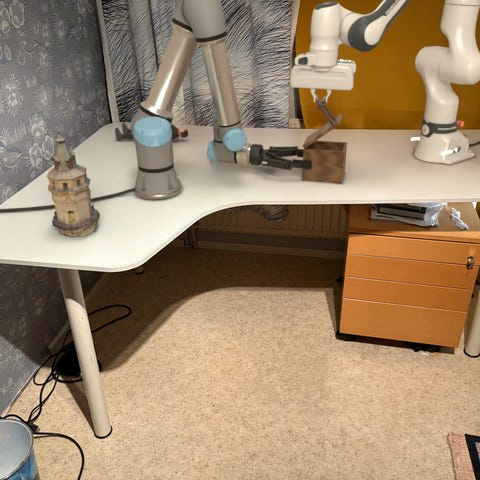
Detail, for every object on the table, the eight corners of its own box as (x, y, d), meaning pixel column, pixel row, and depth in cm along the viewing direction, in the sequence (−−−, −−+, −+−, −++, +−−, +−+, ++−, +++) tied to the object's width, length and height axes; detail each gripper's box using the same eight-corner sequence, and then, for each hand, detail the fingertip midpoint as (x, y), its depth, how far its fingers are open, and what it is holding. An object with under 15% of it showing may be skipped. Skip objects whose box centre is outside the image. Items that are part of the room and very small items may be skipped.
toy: (130, 116, 235) (195, 116, 229) (132, 130, 238) (197, 130, 232) (105, 135, 213) (177, 135, 207) (108, 150, 216) (179, 151, 210)
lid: (342, 116, 180) (327, 94, 178) (339, 124, 172) (323, 101, 170) (308, 139, 187) (293, 118, 185) (304, 148, 179) (288, 127, 177)
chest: (344, 173, 189) (347, 142, 184) (341, 183, 181) (344, 152, 176) (306, 170, 193) (307, 139, 187) (302, 180, 185) (303, 149, 179)
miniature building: (80, 214, 164) (63, 117, 149) (111, 225, 157) (96, 125, 142) (44, 231, 154) (22, 130, 140) (75, 244, 147) (55, 139, 133)
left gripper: (257, 153, 201) (317, 158, 196) (242, 176, 182) (308, 182, 177) (257, 134, 197) (318, 138, 192) (242, 155, 179) (309, 160, 174)
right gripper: (357, 57, 168) (353, 101, 175) (293, 55, 173) (291, 98, 180) (356, 61, 163) (352, 106, 170) (289, 59, 167) (288, 103, 174)
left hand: (313, 159), depth 185 cm, fingers closed on chest, 10 cm apart
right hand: (320, 102), depth 175 cm, fingers closed
